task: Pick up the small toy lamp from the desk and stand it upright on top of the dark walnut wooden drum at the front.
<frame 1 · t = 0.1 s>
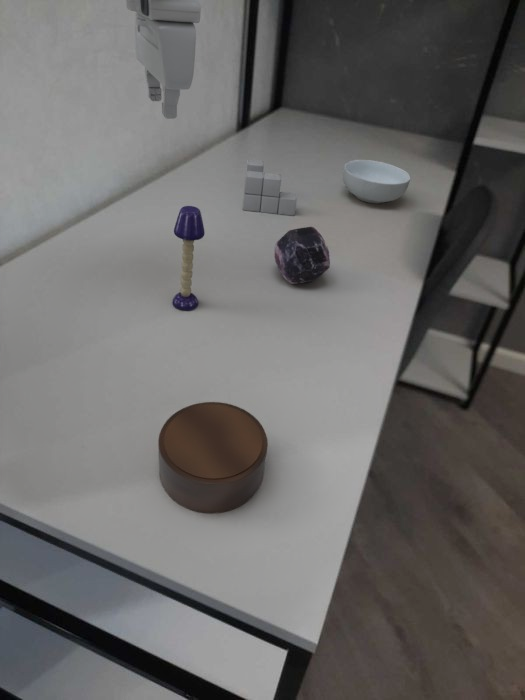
hand: (161, 108, 77), 28 cm above the table, tool pointing down, fingers open, 8 cm apart
cereal bowl: (370, 198, 135), on the table
grey stepped block: (268, 203, 125), on the table
wooden drum: (211, 468, 60), on the table
toy lamp: (187, 304, 87), on the table
mineral specimen: (298, 277, 98), on the table
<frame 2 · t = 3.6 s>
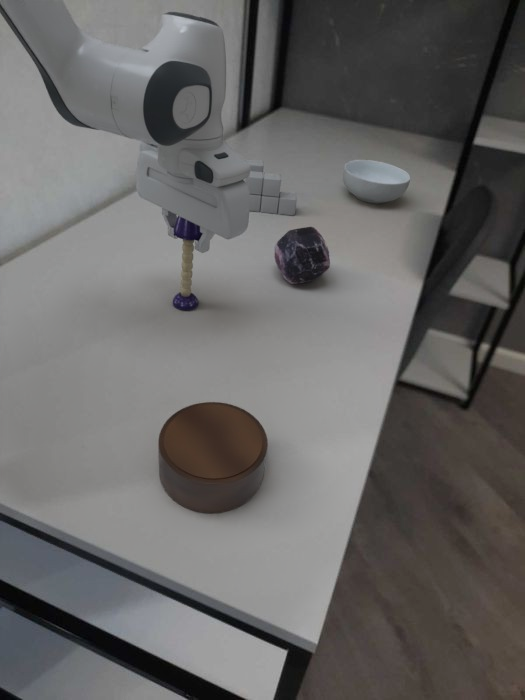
hand: (188, 243, 80), 11 cm above the table, tool pointing down, fingers closed on toy lamp, 4 cm apart
toy lamp: (187, 304, 87), on the table, touching gripper
everything else where it was.
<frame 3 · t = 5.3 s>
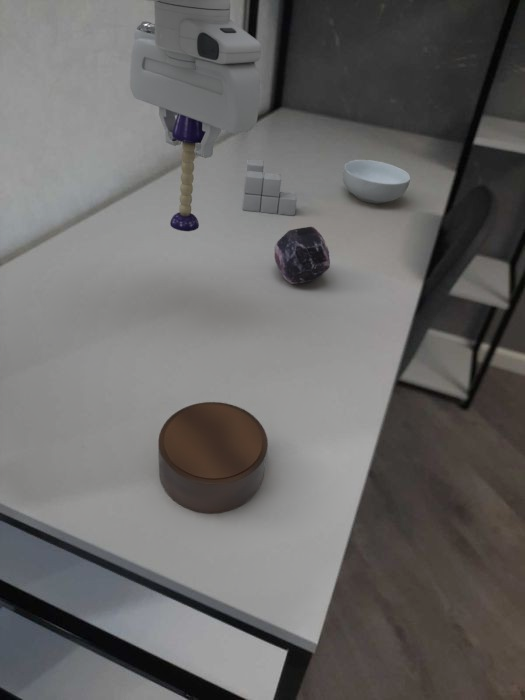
hand: (188, 150, 71), 25 cm above the table, tool pointing down, fingers closed on toy lamp, 4 cm apart
toy lamp: (186, 227, 78), point 14 cm above the table, touching gripper
everything else where it was.
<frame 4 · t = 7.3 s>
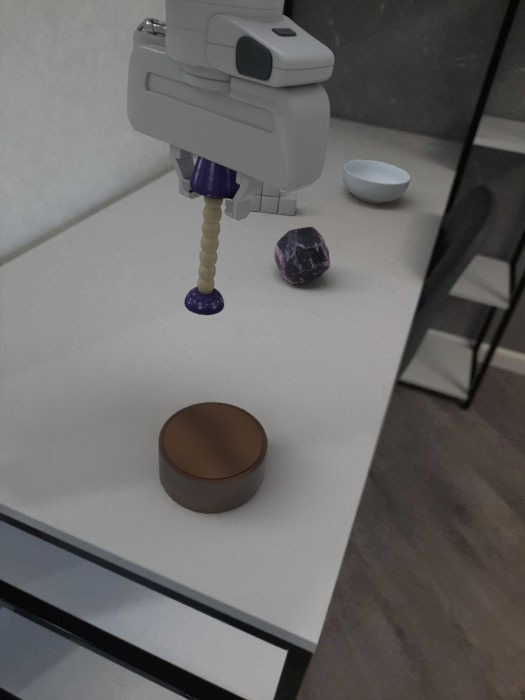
hand: (213, 206, 49), 29 cm above the table, tool pointing down, fingers closed on toy lamp, 4 cm apart
toy lamp: (207, 306, 56), point 17 cm above the table, touching gripper
everything else where it was.
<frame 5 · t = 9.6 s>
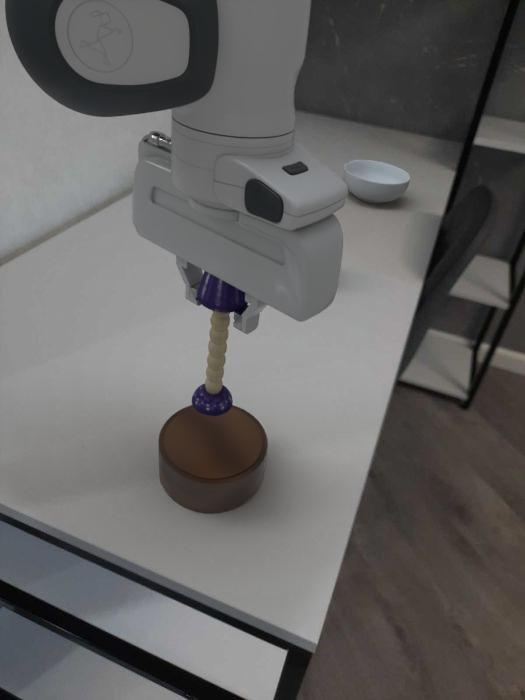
hand: (221, 314, 47), 22 cm above the table, tool pointing down, fingers closed on toy lamp, 4 cm apart
toy lamp: (215, 403, 54), point 10 cm above the table, touching gripper
everything else where it was.
when the fingers open (16 cm above the table, at t = 11.4 s): toy lamp stays where it is, resting on wooden drum.
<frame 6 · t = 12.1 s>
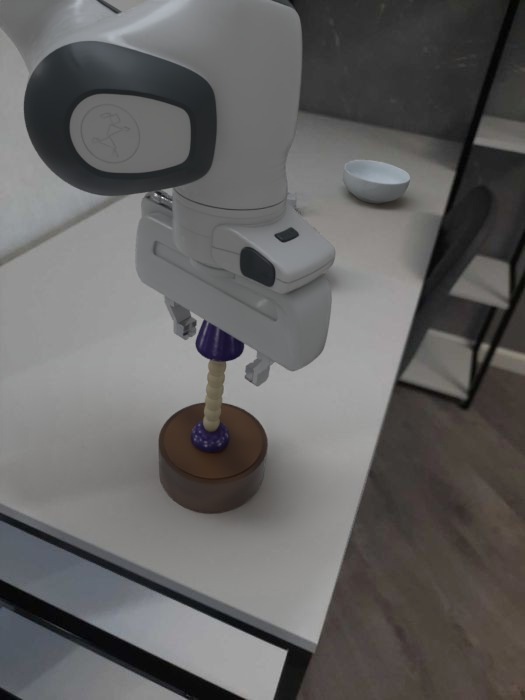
hand: (219, 356, 50), 17 cm above the table, tool pointing down, fingers open, 8 cm apart
toy lamp: (213, 439, 57), point 5 cm above the table, touching wooden drum
everything else where it was.
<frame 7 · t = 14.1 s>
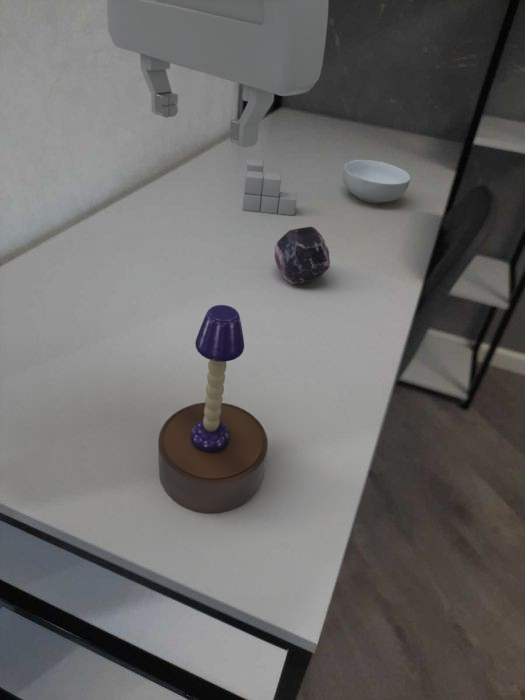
hand: (202, 129, 44), 36 cm above the table, tool pointing down, fingers open, 8 cm apart
nothing on the table moved.
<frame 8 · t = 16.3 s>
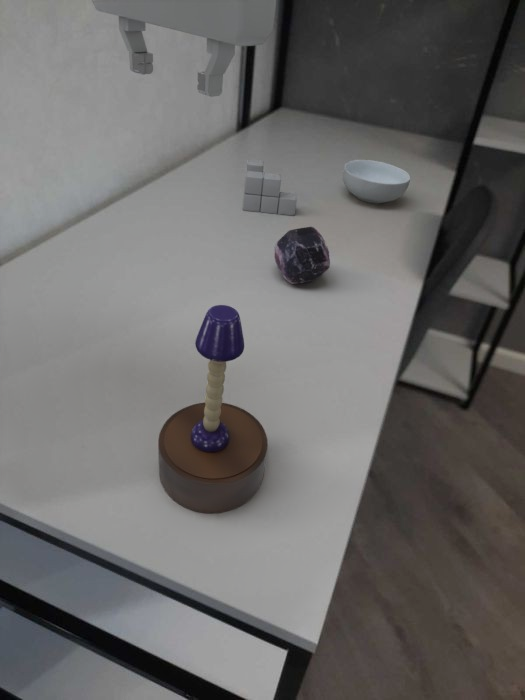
hand: (174, 83, 50), 37 cm above the table, tool pointing down, fingers open, 8 cm apart
nothing on the table moved.
at the end: toy lamp inside the target area on the wooden drum (0.1 cm from its centre), point 5.0 cm above the wooden drum's base; toy lamp tilted 0°; the gripper is holding nothing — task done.
